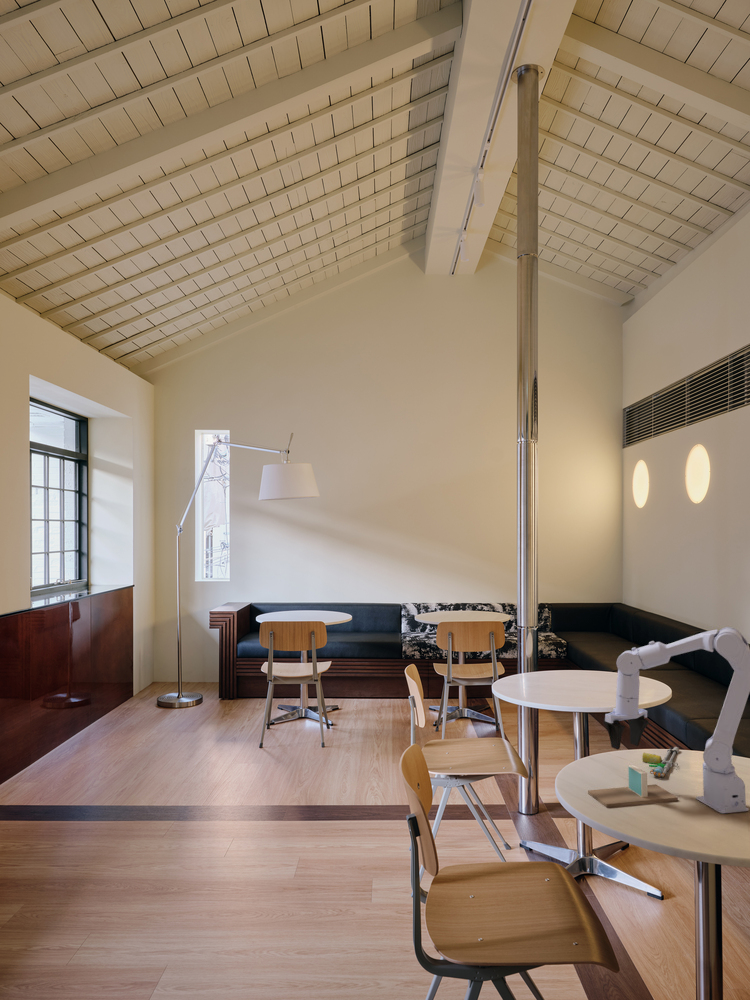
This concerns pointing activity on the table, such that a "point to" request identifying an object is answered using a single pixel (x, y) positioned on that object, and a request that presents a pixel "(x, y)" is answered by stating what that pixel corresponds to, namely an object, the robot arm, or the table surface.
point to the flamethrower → (657, 761)
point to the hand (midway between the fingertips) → (625, 746)
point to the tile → (637, 780)
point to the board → (631, 796)
